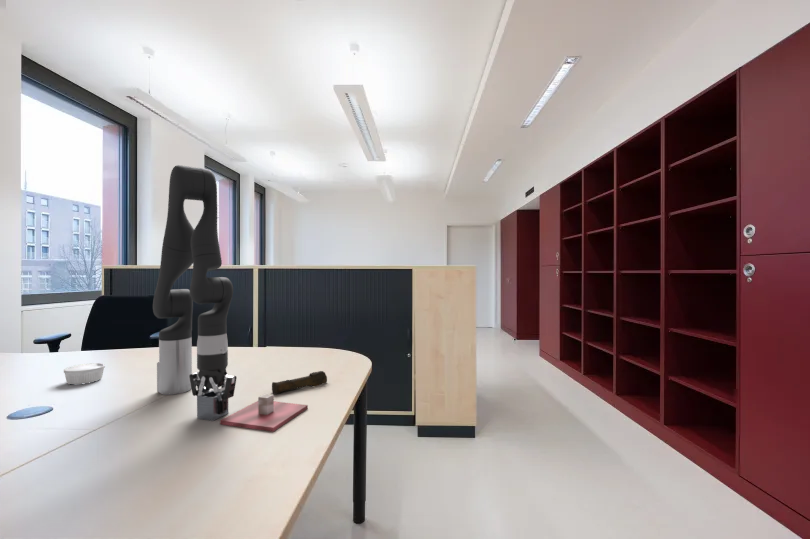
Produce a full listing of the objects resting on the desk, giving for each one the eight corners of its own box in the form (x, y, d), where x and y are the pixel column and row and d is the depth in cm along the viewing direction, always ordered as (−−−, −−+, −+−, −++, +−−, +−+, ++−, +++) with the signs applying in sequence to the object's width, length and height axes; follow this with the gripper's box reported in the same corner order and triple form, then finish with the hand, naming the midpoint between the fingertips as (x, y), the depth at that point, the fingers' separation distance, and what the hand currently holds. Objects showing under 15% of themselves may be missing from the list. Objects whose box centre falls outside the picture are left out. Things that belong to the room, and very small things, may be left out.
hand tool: (274, 396, 121) (274, 381, 121) (271, 393, 125) (271, 378, 125) (330, 385, 133) (330, 372, 133) (325, 382, 136) (325, 369, 136)
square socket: (197, 418, 103) (197, 396, 103) (212, 411, 108) (212, 390, 108) (213, 420, 102) (213, 398, 102) (228, 413, 107) (228, 391, 107)
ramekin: (110, 380, 139) (110, 365, 139) (70, 388, 129) (70, 372, 129) (97, 375, 145) (97, 361, 145) (58, 383, 135) (58, 368, 135)
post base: (220, 424, 100) (219, 403, 99) (260, 403, 115) (259, 384, 115) (273, 431, 95) (273, 409, 95) (307, 408, 110) (307, 389, 110)
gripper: (180, 351, 103) (180, 414, 104) (224, 355, 99) (224, 420, 99) (202, 346, 111) (202, 405, 111) (244, 349, 106) (244, 410, 107)
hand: (213, 412), depth 105 cm, fingers closed on square socket, 5 cm apart
